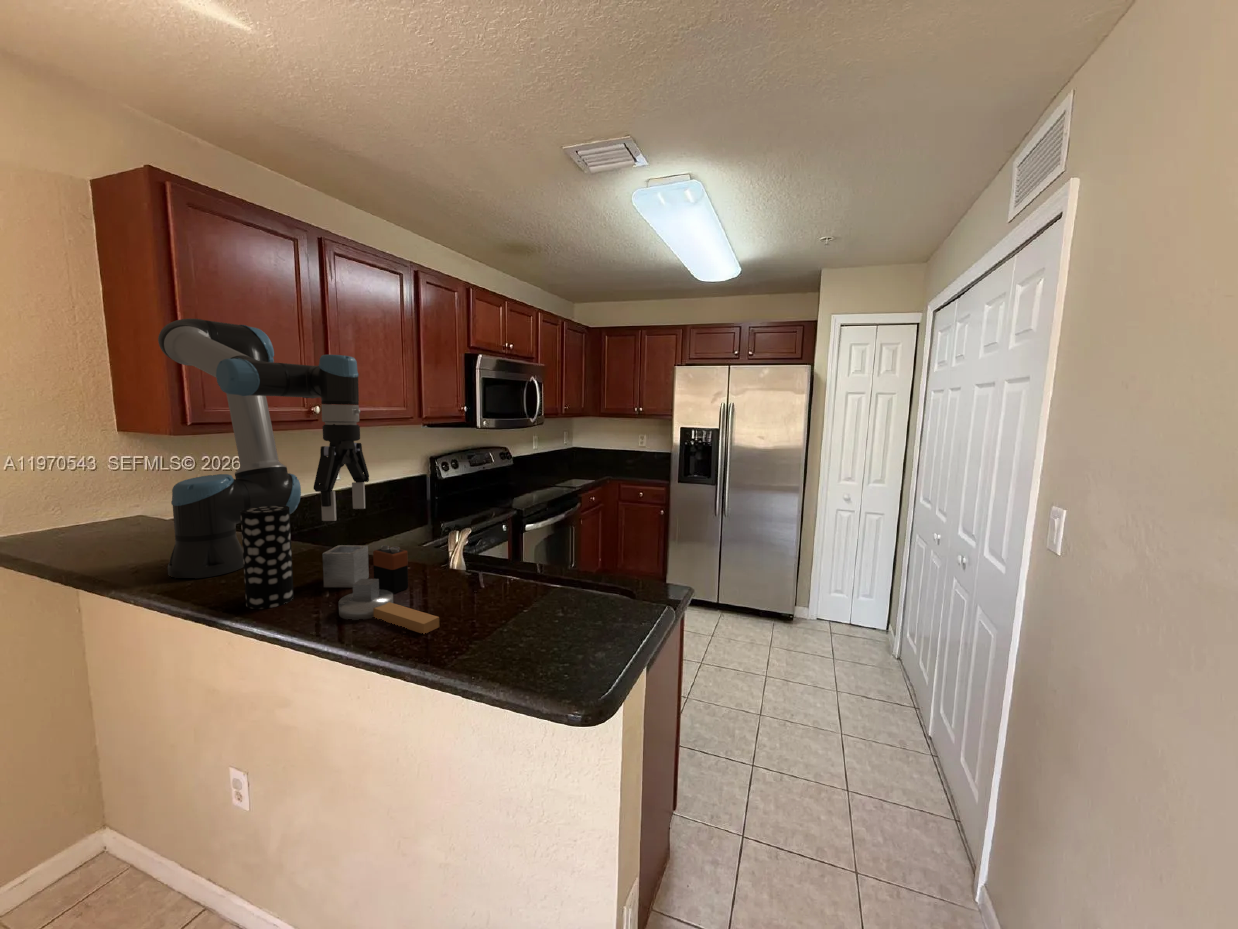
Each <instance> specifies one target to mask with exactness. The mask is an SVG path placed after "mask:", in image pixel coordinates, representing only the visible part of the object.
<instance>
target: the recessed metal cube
mask: <svg viewBox="0 0 1238 929" xmlns="http://www.w3.org/2000/svg"><path fill="white" fill-rule="evenodd" d="M322 570H323V572H322V573H323V574H322V575H323V576H322V577H323V588H353V584H354V583H356V582H357V581H359V580H360V579H369V577H370V576H369V575H370V573H369V570H370V569H369V545H355V544H353V545H350V544H347V545H345V544H344V545H343V544H341V545H340V544H338V545H337V546H334V547H333V548H330V549H329V550H326V551H324V552H323V553H322Z"/></svg>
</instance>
